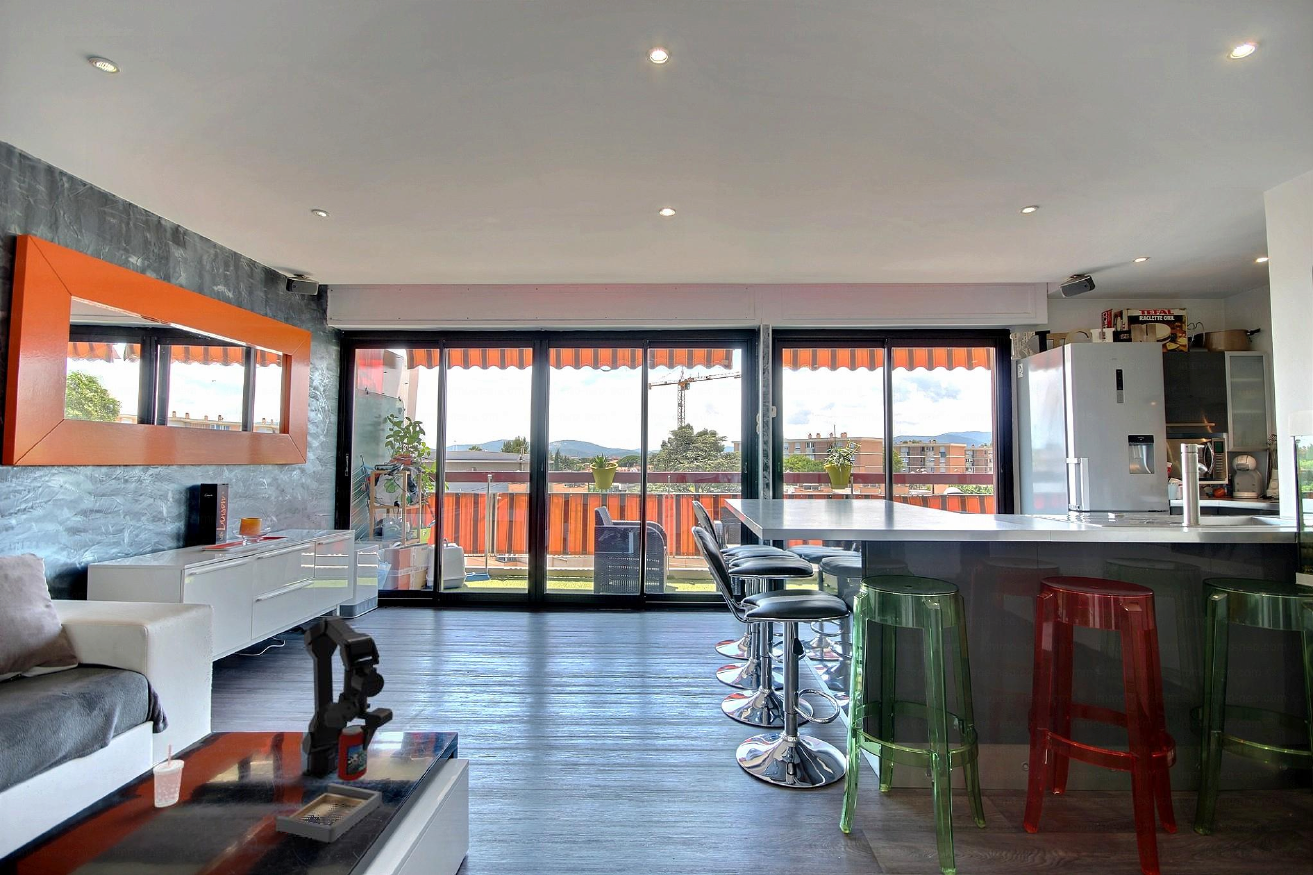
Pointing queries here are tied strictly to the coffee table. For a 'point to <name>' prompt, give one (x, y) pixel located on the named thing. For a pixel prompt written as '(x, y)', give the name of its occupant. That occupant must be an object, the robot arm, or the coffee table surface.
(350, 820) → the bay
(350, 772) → the beverage can
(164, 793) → the beverage cup
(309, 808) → the tray
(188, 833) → the coffee table surface
